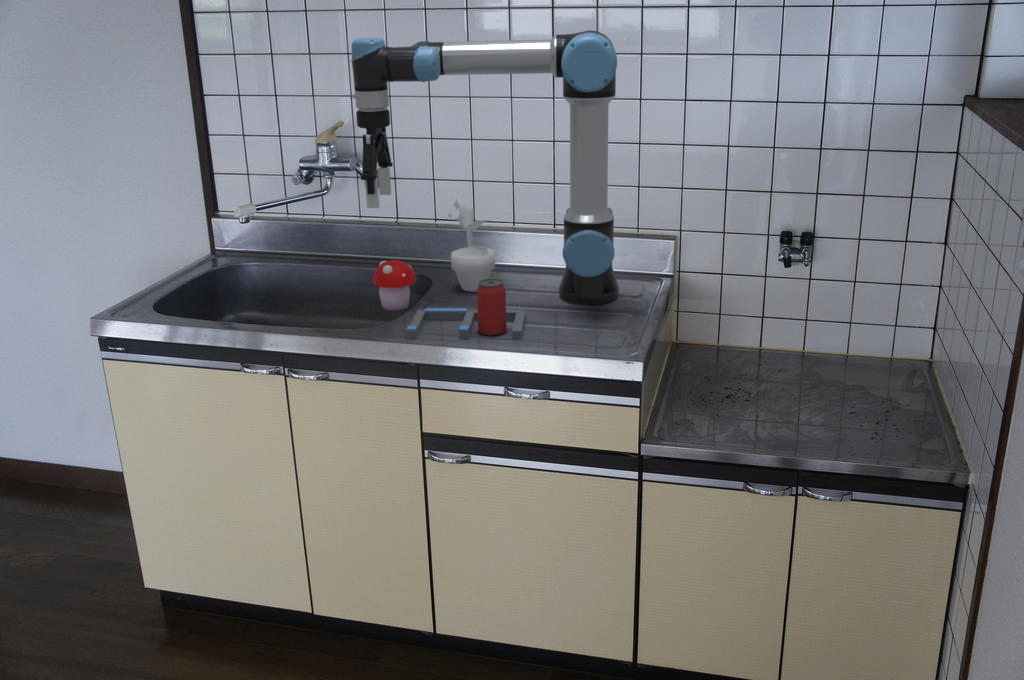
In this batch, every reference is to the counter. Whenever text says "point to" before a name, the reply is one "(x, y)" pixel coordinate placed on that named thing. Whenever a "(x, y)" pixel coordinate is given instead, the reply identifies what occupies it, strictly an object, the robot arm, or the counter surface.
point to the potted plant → (471, 253)
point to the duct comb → (464, 315)
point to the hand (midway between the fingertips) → (379, 201)
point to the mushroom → (394, 284)
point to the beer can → (491, 307)
